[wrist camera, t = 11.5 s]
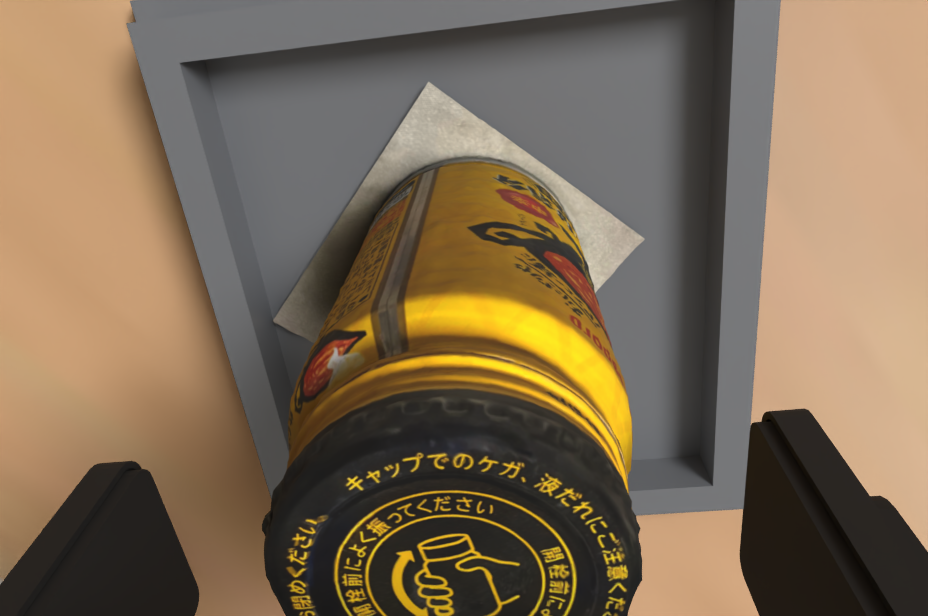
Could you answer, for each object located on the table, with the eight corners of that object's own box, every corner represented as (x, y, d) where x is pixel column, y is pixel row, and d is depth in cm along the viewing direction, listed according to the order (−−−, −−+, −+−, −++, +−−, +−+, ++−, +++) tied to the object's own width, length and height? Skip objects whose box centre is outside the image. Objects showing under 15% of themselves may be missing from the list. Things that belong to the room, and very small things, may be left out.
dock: (140, 0, 18) (98, 3, 16) (775, -86, 17) (811, -94, 15) (289, 505, 25) (272, 548, 23) (739, 476, 24) (759, 520, 22)
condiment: (643, 236, 19) (827, 560, 9) (470, 433, 23) (446, 851, 12) (428, 79, 18) (326, 238, 7) (275, 315, 21) (42, 674, 10)
